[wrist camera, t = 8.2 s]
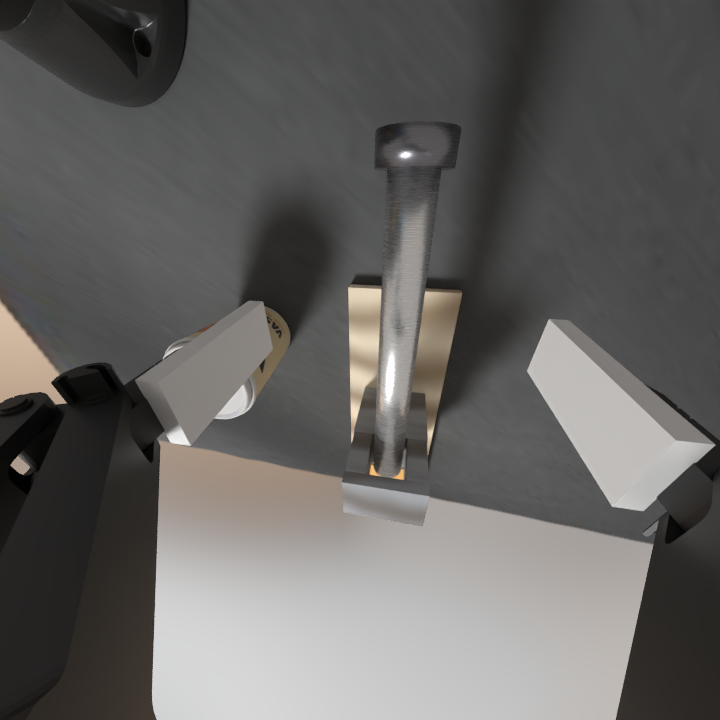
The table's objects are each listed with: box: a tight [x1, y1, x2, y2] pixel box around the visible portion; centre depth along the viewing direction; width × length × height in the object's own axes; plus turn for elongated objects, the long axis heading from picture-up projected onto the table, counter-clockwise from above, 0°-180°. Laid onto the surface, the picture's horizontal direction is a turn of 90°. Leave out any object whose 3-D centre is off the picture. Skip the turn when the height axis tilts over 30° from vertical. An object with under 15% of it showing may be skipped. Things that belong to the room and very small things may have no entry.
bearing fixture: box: [342, 284, 462, 526], centre depth 31 cm, size 32×12×15 cm, turn 0°
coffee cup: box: [163, 306, 291, 419], centre depth 31 cm, size 9×9×12 cm
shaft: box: [373, 122, 461, 478], centre depth 21 cm, size 28×4×4 cm, turn 0°
